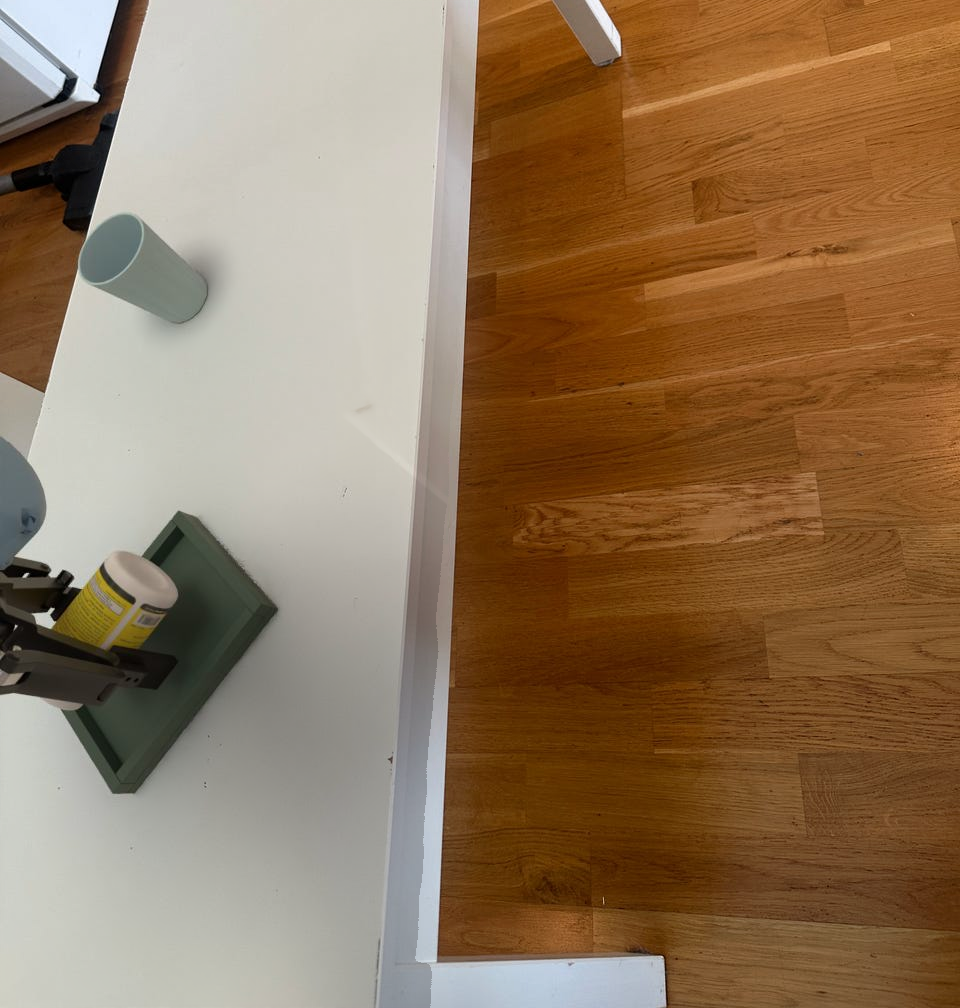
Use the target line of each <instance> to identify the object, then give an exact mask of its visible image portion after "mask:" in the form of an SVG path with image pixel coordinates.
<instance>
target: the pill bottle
mask: <svg viewBox="0 0 960 1008" xmlns="http://www.w3.org/2000/svg"><path fill="white" fill-rule="evenodd" d="M141 556H142V555H139V554H137V553H134V552H131V551H127V550H116V551H114V552H111V553H110V554H109V555H108V556H107V557H106V558H105V559H104V561H103V562H102V563H101V565H100V566H99V567H98V568H97V570H96V571H95V572H94V573H93V575H92V576H91V577H90V579H89V580H88V581H87V582H86V583H85V585H84V586H83V587H82V588H81V589H82V590H81V591H80V593H79V594H78V595H77V596H76V598H75V599H74V600H73V602H72V603H71V604H70V605H69V607H68V608H67V609H66V610H65V612H64V613H63V614H62V615H61V617H60V618H59V619H58V620H57V622H55V623H53V625H52V626H51V628H50V629H52V630H54V631H57V632H60V633H62V634H65V635H68V636H70V637H73V638H75V639H78V640H81V641H83V642H86V643H89V644H91V645H94V646H97V647H99V648H102V649H104V650H107V651H109V650H110V648H111V647H112V646H113V645H117V646H123V647H128V648H134V649H139V648H140V647H141V645H142V644H143V643H144V642H145V640H146V639H147V638H148V637H149V635H150V634H151V633H152V631H153V630H154V629H155V628H156V626H157V625H158V624H159V623H160V621H161V620H162V619H163V618H164V616H165V615H166V614H167V612H168V611H169V610H170V609H171V607H172V606H173V604H174V603H175V602H176V600H177V598H178V591H177V588H176V586H175V584H174V583H173V581H172V580H171V579H170V578H169V576H168V575H167V574H166V573H165V572H164V571H163V570H162V569H160V568H159V567H158V566H156V565H155V564H153V563H152V562H150V561H149V560H147V559H145V558H143V557H141ZM38 698H40V699H41V700H42V701H43V702H45V703H46V704H48V705H50V706H52V707H55V708H57V709H60V710H61V709H63V710H76V709H79V708H80V707H81V706H82V705H83V704H79V703H73V702H66V701H60V700H54V699H47V698H41V697H38Z"/></svg>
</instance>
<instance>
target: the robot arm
mask: <svg viewBox="0 0 960 1008" xmlns="http://www.w3.org/2000/svg"><path fill="white" fill-rule="evenodd" d="M46 516H47V499H46V493H45V489H44V487H43V485H42V482H41V479H40V477H39V476H38V474H37V472H36V471H35V468H34V467H33V466H32V465H31V464H30V462H29V461H28V460H27V458H25V456H24V455H23V454H22V453H21V451H19V449H17V448H16V447H15V446H14V445H13V444H12V443H11V442H10V441H8V440H6V439H5V438H4V437H3V436H2V435H0V696H4V695H11V694H15V695H23V696H28V697H29V696H30V697H36V698H39V697H41V698H47V699H54V700H60V701H66V702H73V703H79V704H85V705H92V706H98V707H102V706H103V705H104V704H105V703H106V701H107V700H108V699H109V698H110V696H111V695H112V694H113V693H114V691H115V690H116V689H117V688H118V687H126V688H136V687H138V688H146V689H154V690H157V689H158V688H159V686H160V685H161V684H162V683H163V681H164V680H165V679H166V677H167V676H168V675H169V674H170V672H171V671H172V670H173V669H174V667H175V666H176V665H177V663H178V662H179V661H178V660H177V659H176V657H175V656H174V655H168V654H162V653H157V652H151V651H145V650H140V649H134V648H128V647H123V646H117V645H113V646H112V647H111V648H110V650H109V651H107V650H104V649H102V648H99V647H97V646H94V645H91V644H89V643H86V642H83V641H81V640H78V639H75V638H73V637H70V636H68V635H65V634H62V633H60V632H57V631H54V630H52V629H51V628H49V627H46V626H44V625H41V624H39V623H37V620H36V616H35V615H34V614H46V613H48V612H49V611H50V610H51V609H53V610H52V611H51V613H50V614H49V616H50V618H51V619H52V621H53V622H55V623H56V622H57V620H58V619H59V618H60V617H61V615H62V614H63V613H64V612H65V610H66V609H67V608H68V607H69V605H70V604H71V603H72V602H73V600H74V599H75V598H76V596H77V595H78V594H79V593H80V591H81V590H82V589H83V588H80V587H75V586H70V585H71V584H72V583H73V582H74V580H75V575H73V574H72V573H71V572H70V571H69V570H66V569H61V571H60V572H59V573H58V574H57V576H56V577H53V576H52V577H51V576H50V573H51V572H52V568H51V567H50V565H48V563H45V562H42V561H39V560H33V559H29V558H24V557H20V556H19V557H18V556H17V555H18V554H19V553H20V552H21V550H22V549H24V547H25V546H26V545H28V544H29V542H30V541H31V540H32V539H33V538H34V537H35V536H36V535H37V534H38V532H39V531H40V530H41V528H42V527H43V524H44V523H45V520H46ZM25 575H26V576H25ZM24 576H25V577H24ZM41 698H40V699H41Z"/></svg>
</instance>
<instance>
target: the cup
mask: <svg viewBox="0 0 960 1008" xmlns="http://www.w3.org/2000/svg"><path fill="white" fill-rule="evenodd" d="M77 259H78V260H77V270H78V274H79V276H80V278H81V279H82V281H83V282H84V283H86V284H87V285H90V286H91V287H94V288H95V289H98V290H101V291H102V292H105V293H106V294H109V295H111V296H114V297H116V298H117V299H120V300H122V301H124V302H127V303H129V304H131V305H133V306H135V307H137V308H139V309H142V310H143V311H146V312H148V313H150V314H152V315H155V316H156V317H159V318H161V319H163V320H166V321H168V322H170V323H173V324H174V323H175V324H180V323H181V324H182V323H185V322H187V321H189V320H190V319H192V318H193V317H195V316H196V315H197V314H198V313H199V312H200V310H201V309H202V307H203V306H204V304H205V302H206V299H207V296H208V285H207V283H206V280H205V278H203V277H202V275H200V274H199V272H197V271H196V270H195V269H194V268H193V267H192V266H191V265H190V264H189V263H188V262H186V260H185V259H183V257H181V256H180V254H178V253H177V252H176V251H175V250H174V249H173V248H172V247H171V246H170V245H169V244H168V243H167V242H166V241H165V240H163V238H161V237H160V235H158V233H156V231H154V230H153V229H152V228H151V227H150V226H149V225H148V224H147V223H146V222H145V221H144V220H143V219H142V218H140V216H138V215H137V214H136V213H133V212H129V211H127V212H126V211H124V212H118V213H115V214H112V215H110V216H109V217H107V218H105V219H104V220H102V221H101V222H100V223H99V224H98V225H97V226H96V227H95V228H93V230H91V232H90V233H89V235H88V236H87V238H85V240H84V243H83V244H82V247H81V248H80V251H79V255H78V258H77Z"/></svg>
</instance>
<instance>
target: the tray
mask: <svg viewBox="0 0 960 1008" xmlns="http://www.w3.org/2000/svg"><path fill="white" fill-rule="evenodd" d="M140 556H141V557H143V558H145V559H147V560H149V561H150V562H152V563H153V564H155V565H156V566H158V567H159V568H160V569H162V570H163V571H164V572H165V573H166V574H167V575H168V576H169V578H170V579H171V580H172V581H173V583H174V584H175V586H176V588H177V591H178V598H177V600H176V602H175V603H174V604H173V606H172V607H171V609H170V610H169V611H168V612H167V614H166V615H165V616H164V618H163V619H162V620H161V621H160V623H159V624H158V625H157V626H156V628H155V629H154V630H153V631H152V633H151V634H150V635H149V637H148V638H147V639H146V640H145V642H144V643H143V644H142V645H141V647H140V648H139V649H140V650H145V651H151V652H157V653H162V654H168V655H174V656H175V657H176V659H177V660H178V661H179V662H178V663H177V665H176V666H175V667H174V669H173V670H172V671H171V672H170V674H169V675H168V676H167V677H166V679H165V680H164V681H163V683H162V684H161V685H160V686H159V688H158V689H157V690H154V689H146V688H138V687H136V688H126V687H118V688H117V689H116V690H115V691H114V693H113V694H112V695H111V696H110V698H109V699H108V700H107V701H106V703H105V704H104V705H103V706H102V707H98V706H92V705H85V704H83V705H82V706H81V707H80V708H79V709H76V710H63V709H60V711H61V713H62V714H63V716H64V718H65V719H66V721H67V723H68V724H69V726H70V727H71V729H72V731H73V732H74V734H75V736H76V737H77V739H78V740H79V742H80V744H81V745H82V747H83V748H84V750H85V752H86V754H87V755H88V756H89V758H90V760H91V761H92V763H93V765H94V766H95V768H96V769H97V771H98V773H99V774H100V776H101V777H102V779H103V781H104V783H105V784H106V786H107V787H108V789H109V790H110V792H111V794H113V795H134V794H135V793H136V792H137V791H138V789H139V788H140V787H141V786H142V785H143V783H144V782H145V780H146V779H147V778H148V777H149V775H150V774H151V773H152V771H153V770H154V769H155V768H156V767H157V765H158V764H159V762H160V761H161V760H162V758H163V757H164V756H165V755H166V753H167V752H168V751H169V749H170V748H171V747H172V746H173V744H175V742H176V741H177V739H178V738H179V737H180V735H181V734H182V733H183V732H184V730H185V729H186V728H187V727H188V725H189V724H190V722H191V721H193V719H194V717H195V716H196V715H197V713H198V712H199V711H200V710H201V709H202V707H203V706H204V705H205V704H206V702H207V701H208V700H209V698H210V697H211V696H212V694H213V693H214V692H215V691H216V689H217V688H218V687H219V686H220V684H221V683H222V681H223V680H224V679H225V678H226V677H227V675H228V674H229V673H230V672H231V670H232V669H233V667H235V665H236V663H237V662H238V661H239V660H240V658H241V657H242V656H243V655H244V653H246V651H247V650H248V649H249V647H250V646H251V644H252V643H253V642H254V641H255V639H256V638H257V637H258V636H259V634H260V633H261V632H262V631H263V629H264V628H265V626H266V625H267V624H268V622H269V621H270V620H271V619H272V617H273V616H274V615H275V613H277V612H278V610H279V608H278V607H277V606H276V604H274V602H273V601H272V600H271V599H270V598H269V597H268V596H267V594H266V593H265V592H263V590H262V589H261V588H260V587H259V585H257V583H256V582H255V581H254V580H253V579H252V578H251V577H250V575H249V574H248V573H247V572H246V571H245V569H243V568H242V566H240V564H239V563H238V562H237V561H236V560H235V559H234V557H232V556H231V554H230V553H229V552H228V551H227V550H226V549H225V547H224V546H223V545H221V543H220V542H219V541H218V540H217V539H216V537H215V536H214V535H213V534H212V533H211V532H210V531H209V530H208V529H207V527H206V526H205V525H204V524H203V523H202V521H200V519H198V518H197V517H196V516H195V515H193V514H190V513H187V512H184V511H181V510H180V509H179V510H177V511H176V512H175V514H174V515H173V516H172V517H171V519H170V520H169V521H168V523H167V524H166V525H165V526H164V527H163V528H162V530H161V531H160V532H159V534H158V535H157V536H156V537H155V539H154V540H153V541H152V542H151V543H150V545H149V546H148V547H147V548H146V550H144V552H143V554H142V555H140Z"/></svg>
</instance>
